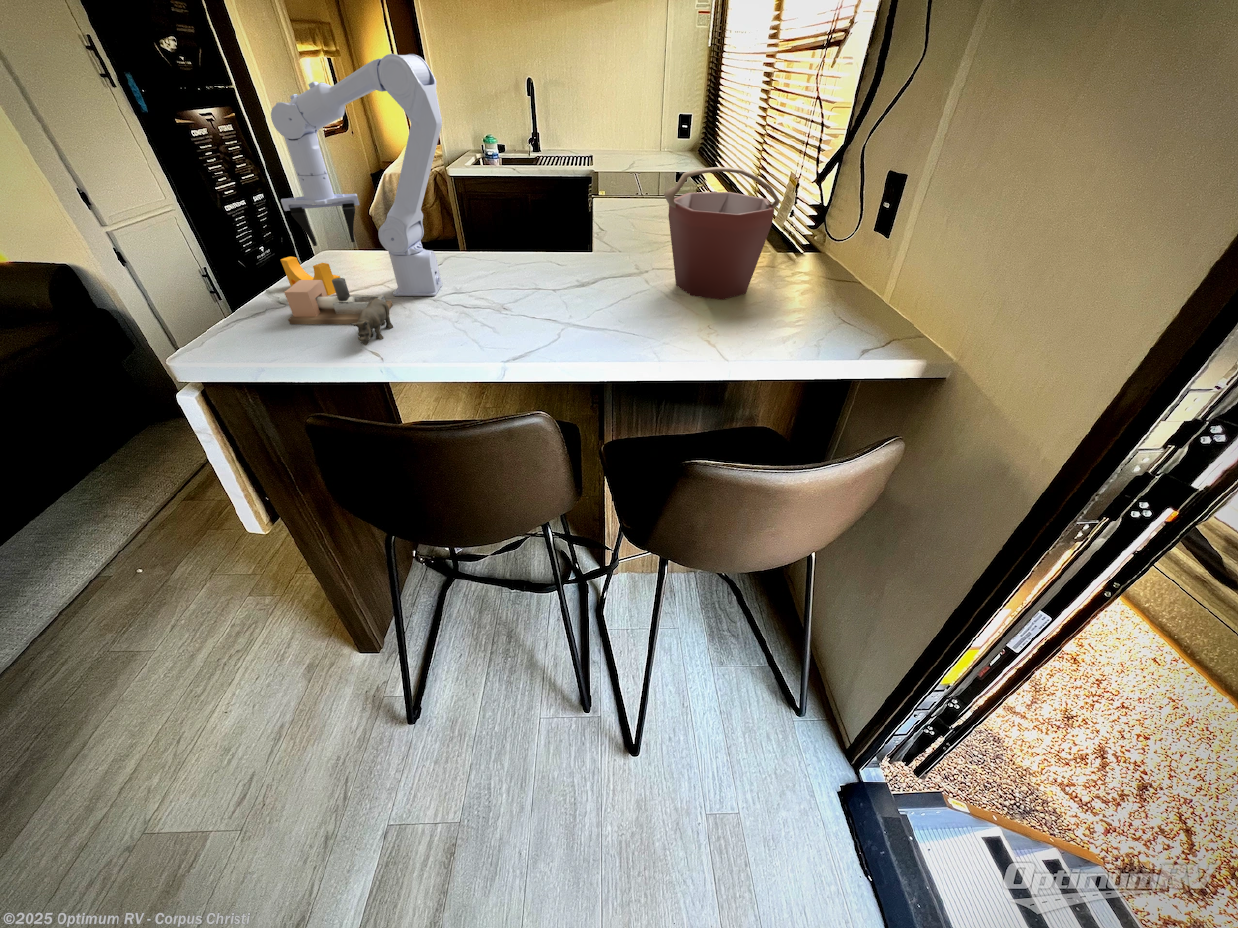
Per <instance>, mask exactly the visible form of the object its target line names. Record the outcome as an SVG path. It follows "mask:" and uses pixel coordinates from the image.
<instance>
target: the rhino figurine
mask: <svg viewBox="0 0 1238 928" xmlns="http://www.w3.org/2000/svg"><path fill="white" fill-rule="evenodd" d="M385 301H386V300H385ZM385 301H383V300H380V299H378V298H375V299H374V300H372V301H370V302H369V303H368V305H367V307H366V308H365V309H363V310H362V312H361V313H360V315H359V318H358V323H350V324H349V325H351V326H353V327H357V332H358V333H357V335H358V337H357V340H358V341H359V342H360V343H361V344H362V345H363V346H368V345H369V344H370V339H372V338H374V336H375V340H379V341H381V340H383V339H384V336H383V334H382V333H381V327H382V326H385V328H386V329H387V330H388V329H389V330H391V329H392V328H394V325H393V324H392V322H391V319H390V309H389V307H388V305H387V303H386V302H385ZM373 330H374V332H373ZM374 333H375V335H374Z"/></svg>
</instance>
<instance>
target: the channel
mask: <svg viewBox="0 0 1238 928" xmlns="http://www.w3.org/2000/svg"><path fill="white" fill-rule="evenodd" d="M350 297H353V298H354V300H355V302H334V303H333V306H334V309H335V312H336V314H360V313H361V312H362V310H363V309H365V308H366V307H367V305H368V303H369V302H370V301H372V300H374V299H375V298H378V299H380V300H383V301H385V302H386V301H387V300H386V297H385V295H384V294H382V295H381V294H380V295H379V294H375V295H374V294H370V295H368V294H365V295H363V294H357V295H353V294H352V295H351V294H350Z"/></svg>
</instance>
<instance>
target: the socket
mask: <svg viewBox="0 0 1238 928" xmlns="http://www.w3.org/2000/svg"><path fill="white" fill-rule="evenodd" d="M283 293H284V295H285V298H286V301H287V303H288V306H289V308H290V310H291V313H292V315H293V316H294V317H300V316H317V315H318V314H319V313H320V310H319V307H318V304H317V302H316V299H315V298H316V297H329V295H327V293H326V290H325V287H324V284H323V282H322V280H299V281H298V282H296V283H295V284H294V285H293V286H291V285H290V287H289V288H288V289H286V290H285V291H283Z"/></svg>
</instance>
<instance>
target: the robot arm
mask: <svg viewBox="0 0 1238 928" xmlns="http://www.w3.org/2000/svg"><path fill="white" fill-rule="evenodd" d="M308 86H309V89H307V90H305V91H303V92H301V93H300V94H297V93H295V94H291V95H290V96H289V97H290V102H283V101H279V102H276V103H275V105H274V106H273V107H272V108H271V111H270V117H271V118H270V119H271V121H272V125H273V127H274V128H275V130H276V131H277V132H278V133H279V134H280V135H281V136H282V137H283V138H284V141H285V144H286V147H287V150H288V153H289V156H290V158H291V162H292V166H293V168H294V170H295V173H296V177H297V180H298V182H299V186H300V188H301V189H300V190H301V191H302V196H296V197H295V196H294V197H288V198H281V199H280V202H281V205H282V208H283V210H284V211H285V212H287V211H290V215H291V216H292V218H294V220H295V221H296V222H297V223H298V224H299V226H300V227H301V229H303V230H304V232H305V234H306V235H307V237H308V238H309V240H310V241H311V243H312V246H313V247H318V242H317V239H316V237H315V235H314V231H313V229H312V227H311V224H310V222H309V218H308V215H307V213H306V209H315V208H317V209H318V208H320V209H321V208H330V207H331V208H332V207H341V208H342V211H343V215H344V218H345V221H346V224H347V229H348V234H349V238H350V242H351V243H355V242H356V241H355V233H354V221H355V214H356V207H355V206H360V201H359V198H358V194H357V193H334V191H333V187H332V183H331V181H330V177H329V174H328V173H329V172H328V171H327V165H326V164H325V160H324V158H323V153H322V150H321V147H320V141H319V138H318V132H319V131H320V129H322V128H324V127H326V126H328V125H330V124H332V123H334V122H336V121H337V120H339V119H341V118H343V117H344V116H345V112H346V111H345V109H346V106H347V105H348V104H350V103H352V102H354V101H357V100H358V99H360V98H362V97H364V96H367V95H368V94H369V95H370V94H371V93H373V92H375V91H378V92H382V93H383V92H387V93H388V94H389V95H390V96H391V98H393V100H394V101H395V103H397V104H398V105H399V106H400V107H401V108H402V110H403V112H404V113H405V115H406V116H407V118H408V119H409V121H410V127H409V131H408V132H409V133H408V138H407V141H406V146H405V151H404V156H403V161H402V165H401V168H400V169H401V170H400V174H399V178H398V183H397V187H396V194H395V196H394V201H393V204H392V206H391V208H390V209H389V211H388V212H387V214H386V219H385V221H384V223H383V224H381V226H380V227H379V229H378V239H379V242H380V244H381V246H382V247H383V249H385V250H386V251H388V255H389V258H390V263H391V267H392V270H393V274H394V278H395V282H396V286H397V288H396V289H395V290H394V291H393V292H392V295H393V297H395V296H396V297H400V296H403V297H404V296H407V297H410V296H411V297H413V296H414V297H416V296H418V297H422V296H428V297H429V296H430V297H431V296H433V297H434V296H436V295H437V293H438V292H439V290H440V288H441V287H442V285H443V284H444V283H443V282H442V279H441V273H440V269H439V263H438V258H437V256H436V252H435V251H434V250H428V249H425V248H423V244H422V241H421V240H422V239H423V237H424V234H425V232H424V231H425V230H424V225H423V221H424V220H423V219H424V213H423V211H422V206H423V203H424V198H425V194H426V191H427V187H428V183H429V178H430V174H431V170H432V167H433V166H432V165H433V162H434V157H435V156H436V155H435V154H436V150H437V146H438V143H439V140H440V139H439V138H440V134H441V130H442V127H443V119H442V115H441V114H442V113H441V109H440V105H439V100H438V93H437V79H436V78H435V75H434V74H433V72H432V70H431V69H430V66H429V64H428V63H427V62H426V61H425V59H423V57H421V56H420V55H417V54H415V53H408V54H395V53H388V54H386V55H384V56H383V57H382V58H376V59H373V60H371V61H369V62H367V63H366V64H364V65H363V66H361V67H360V68H358V69H356V70H355V71H353V72H352V73H351V74H348V75H347V76H346V77H344V78H343V79H341V80H340V81H338V82H336V83H335V84H334V85H330V84H328V83H326V82H320V83H319V82H318V81H312V82H310V83H308Z"/></svg>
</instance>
